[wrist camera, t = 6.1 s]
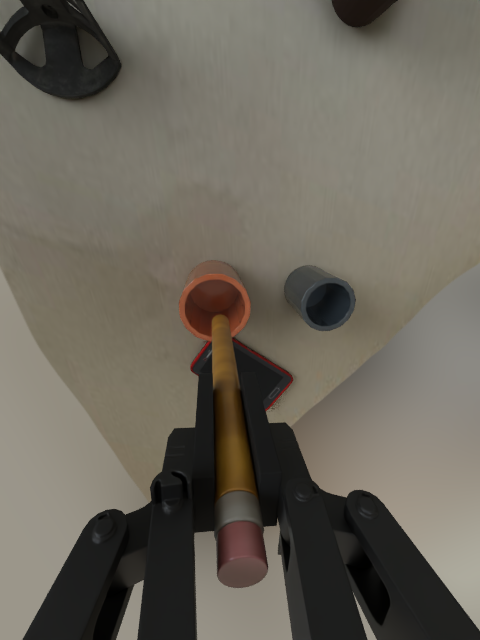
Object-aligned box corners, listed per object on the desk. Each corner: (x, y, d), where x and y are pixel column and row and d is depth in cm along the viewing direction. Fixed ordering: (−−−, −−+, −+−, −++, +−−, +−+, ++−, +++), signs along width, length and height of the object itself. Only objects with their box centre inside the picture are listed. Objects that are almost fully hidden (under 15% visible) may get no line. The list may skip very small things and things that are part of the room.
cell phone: (264, 409, 47) (265, 413, 46) (188, 367, 42) (187, 370, 42) (294, 375, 45) (295, 379, 44) (217, 327, 41) (217, 330, 40)
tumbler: (286, 265, 39) (304, 277, 31) (331, 265, 39) (359, 277, 32) (282, 309, 41) (298, 331, 33) (325, 309, 41) (350, 330, 34)
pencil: (211, 314, 26) (214, 558, 8) (229, 314, 26) (272, 552, 8) (211, 330, 26) (214, 592, 8) (228, 330, 27) (268, 587, 8)
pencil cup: (184, 259, 37) (177, 273, 29) (242, 260, 38) (251, 274, 29) (187, 314, 40) (181, 342, 31) (241, 314, 40) (249, 340, 32)
